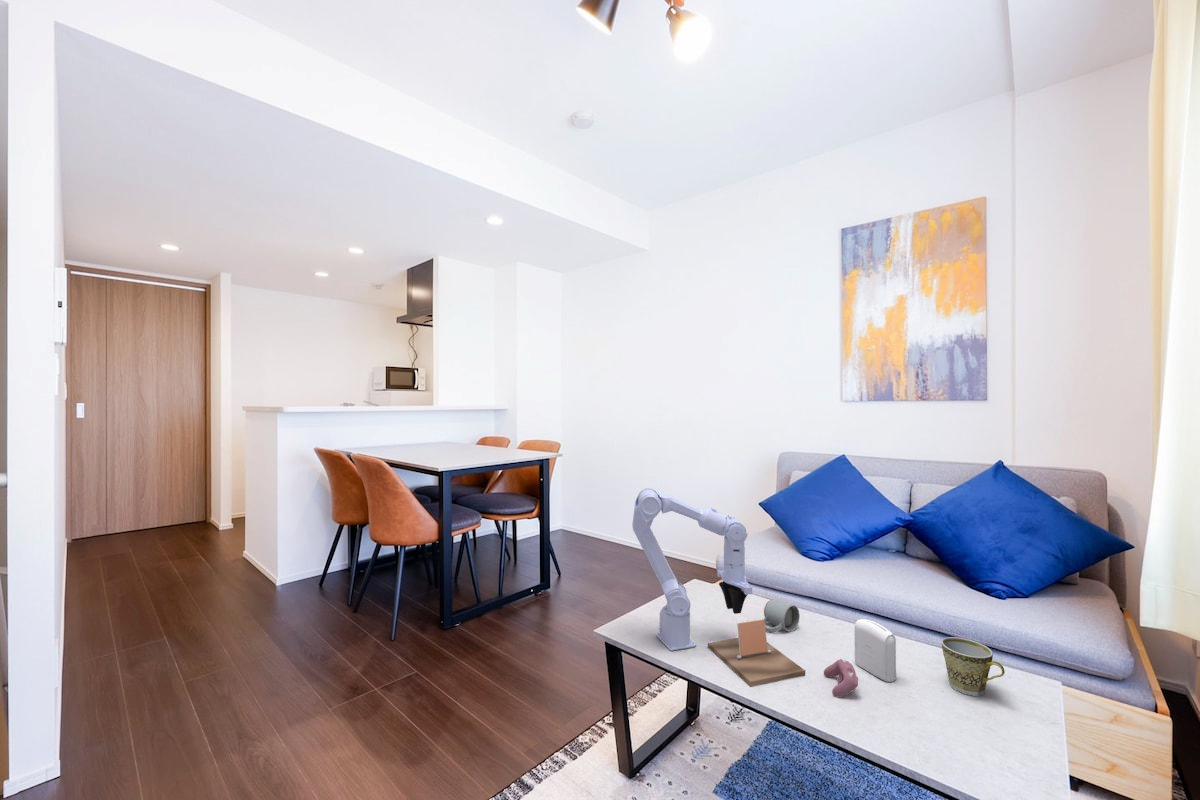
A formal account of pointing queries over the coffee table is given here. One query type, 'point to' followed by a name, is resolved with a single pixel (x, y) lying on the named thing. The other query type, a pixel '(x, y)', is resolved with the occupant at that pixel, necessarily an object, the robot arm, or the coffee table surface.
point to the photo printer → (875, 649)
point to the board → (756, 663)
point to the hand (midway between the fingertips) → (733, 610)
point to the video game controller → (842, 677)
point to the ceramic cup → (968, 665)
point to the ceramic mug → (781, 616)
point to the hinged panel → (752, 637)
